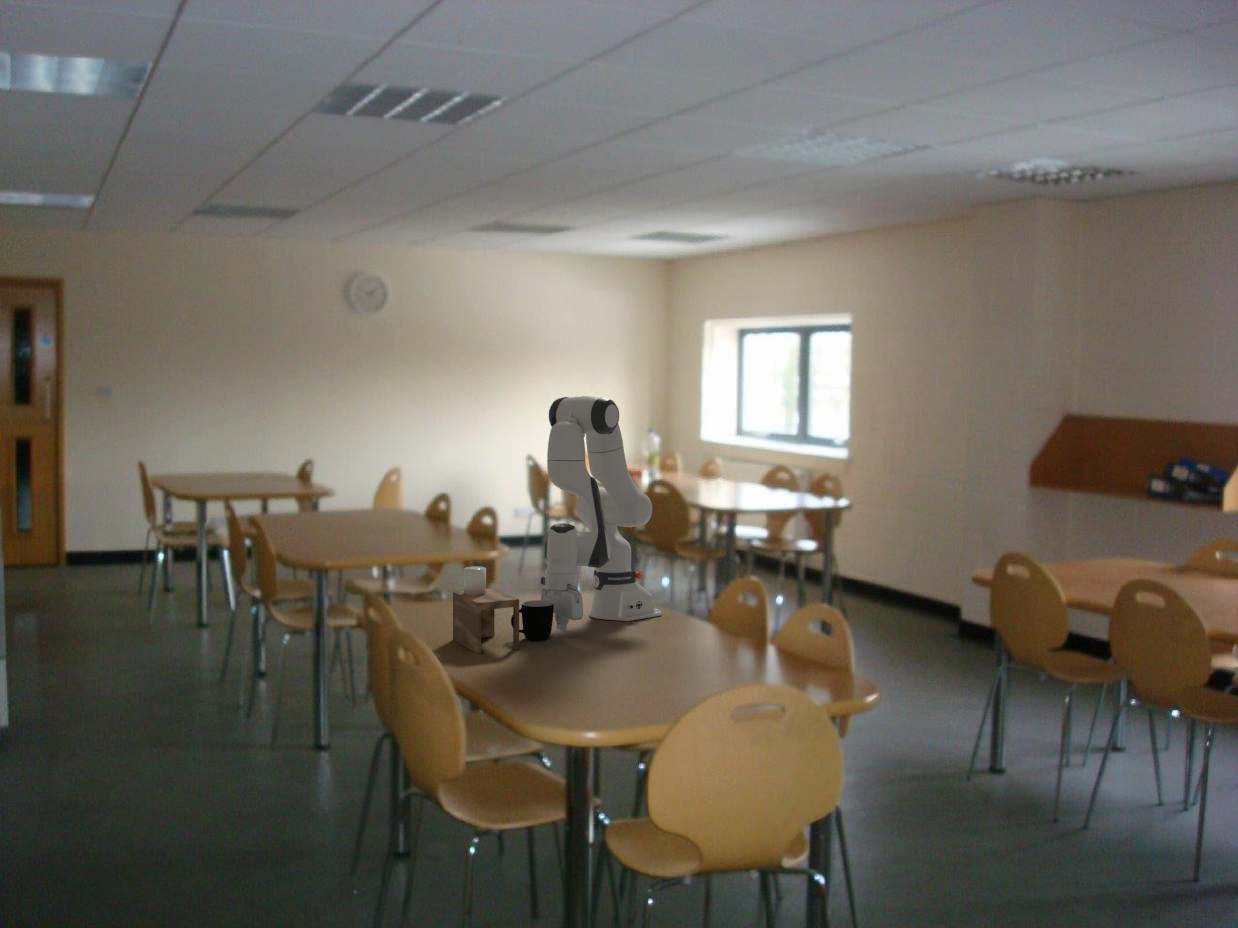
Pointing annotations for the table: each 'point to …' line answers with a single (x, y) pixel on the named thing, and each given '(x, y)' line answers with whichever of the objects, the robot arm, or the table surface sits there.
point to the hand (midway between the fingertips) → (561, 630)
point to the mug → (536, 619)
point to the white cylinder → (474, 580)
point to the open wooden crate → (481, 617)
